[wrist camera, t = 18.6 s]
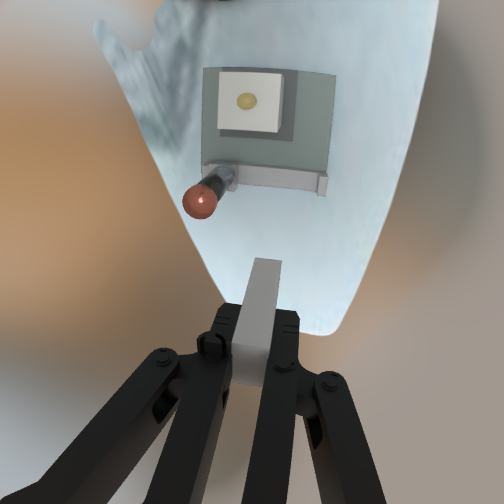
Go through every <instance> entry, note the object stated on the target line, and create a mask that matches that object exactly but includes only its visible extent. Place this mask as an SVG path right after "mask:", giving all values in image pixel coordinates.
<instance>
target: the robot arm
mask: <svg viewBox="0 0 504 504" xmlns="http://www.w3.org/2000/svg"><path fill="white" fill-rule="evenodd" d="M281 264H282V261H280V260H272V259H264V258H255V260H254V264H253V268H252V271H251V275H250V278H249V282H248V286H247V289H246V293H245V296H244V300H243V303H242V305H239V304H232V303H224V304H223V305H222V306H221V307H220V308H218V311H217V314H216V317H215V319H214V322H213V324H212V327H211V330H210V331H208V332H204V333H202V334H201V335H199V337H198V338H197V348H198V352H196V353H194V354H188V355H177V353H176V352H175V351H174V350H172V349H169V348H159V349H156V350H154V351H153V352H152V353H150V354H149V355H148V357H147V358H146V359H145V360H144V361H143V362H142V363H141V365H140V366H139V367H138V368H137V369H136V370H135V371H134V372H133V373H132V375H131V376H130V377H129V378H128V379H127V380H126V381H125V382H124V384H123V385H122V386H121V387H120V388H119V389H118V391H117V392H116V393H115V394H114V395H113V396H112V397H111V398H110V400H109V401H108V402H107V403H106V404H105V405H104V406H103V407H102V409H101V410H100V411H99V412H98V413H97V414H96V415H95V417H94V418H93V419H92V420H91V421H90V422H89V424H88V425H87V426H86V427H85V428H84V429H83V430H82V431H81V432H80V434H79V435H78V436H77V437H76V438H75V439H74V441H73V442H72V443H71V444H70V445H69V446H68V447H67V449H66V450H65V451H64V452H63V453H62V454H61V456H60V457H59V458H58V459H57V460H56V461H55V462H54V463H53V465H52V466H51V467H50V468H49V469H48V470H47V472H46V473H45V474H44V475H43V476H42V478H41V479H40V480H39V481H38V482H36V483H33V484H31V485H29V486H27V487H25V488H23V489H21V490H18V491H16V492H14V493H12V494H10V495H7V496H5V497H3V498H2V499H1V500H0V504H107V503H108V502H109V500H110V499H111V498H112V496H113V495H114V494H115V492H116V491H117V490H118V488H119V487H120V486H121V484H122V483H123V482H124V480H125V479H126V478H127V477H128V475H129V474H130V472H131V471H132V470H133V468H134V467H135V466H136V464H137V463H138V462H139V460H140V459H141V458H142V456H143V455H144V454H145V452H146V451H147V450H148V448H149V447H150V446H151V444H152V443H153V441H154V440H155V439H156V437H157V436H158V435H159V433H160V432H161V430H162V429H163V428H164V426H165V425H166V423H167V422H168V421H169V419H170V418H171V417H172V415H173V414H174V412H175V411H176V410H177V411H176V414H175V417H174V420H173V422H172V425H171V428H170V430H169V433H168V436H167V439H166V442H165V444H164V447H163V450H162V453H161V456H160V458H159V461H158V464H157V467H156V470H155V473H154V476H153V478H152V481H151V484H150V487H149V490H148V493H147V496H146V498H145V500H144V502H143V503H142V504H201V502H202V498H203V494H204V491H205V487H206V483H207V479H208V475H209V471H210V468H211V463H212V460H213V455H214V452H215V448H216V444H217V440H218V436H219V432H220V428H221V424H222V420H223V416H224V412H225V408H226V404H227V400H228V396H229V386H230V382H232V383H238V384H244V385H251V386H258V387H263V389H262V395H261V401H260V407H259V412H258V418H257V424H256V430H255V435H254V441H253V446H252V451H251V457H250V462H249V467H248V472H247V477H246V483H245V488H244V493H243V498H242V502H241V504H286V501H287V492H288V485H289V476H290V468H291V458H292V448H293V438H294V427H295V415H296V414H298V415H300V416H303V420H304V424H305V429H306V433H307V438H308V442H309V447H310V451H311V456H312V460H313V464H314V469H315V474H316V478H317V483H318V487H319V492H320V497H321V502H322V504H386V500H385V497H384V494H383V490H382V487H381V484H380V480H379V477H378V474H377V471H376V468H375V465H374V462H373V458H372V455H371V452H370V449H369V446H368V443H367V440H366V437H365V434H364V431H363V428H362V425H361V422H360V419H359V417H358V414H357V411H356V409H355V405H354V402H353V399H352V397H351V394H350V391H349V388H348V385H347V383H346V381H345V379H344V378H343V376H341V375H340V374H339V373H336V372H333V371H325V372H322V373H320V374H319V375H317V374H315V373H312V372H310V371H308V370H306V369H305V368H303V367H302V366H301V364H300V363H299V360H298V347H299V325H300V318H299V316H298V314H297V312H296V311H290V310H282V309H276V304H277V297H278V289H279V281H280V273H281Z"/></svg>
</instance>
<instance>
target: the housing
mask: <svg viewBox="0 0 504 504" xmlns="http://www.w3.org/2000/svg"><path fill="white" fill-rule="evenodd" d="M284 81H285V78H284V77H283V76H282V74H274V73H256V72H220V74H219V96H218V122H217V129H234V130H251V131H264V132H276V133H277V132H278V130H279V129H280V127H281V122H282V109H283V95H284Z"/></svg>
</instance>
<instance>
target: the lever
mask: <svg viewBox="0 0 504 504" xmlns="http://www.w3.org/2000/svg"><path fill="white" fill-rule="evenodd" d="M237 181H238V162H225V161H212V162H210V163H209V170H208V175H207V176H205V177H204V178H203V179H202V180H201V181H200V182H199V183H198V184H197V185H194V186H192V187H191V188H189V189H188V190H187V191H186V192H185V194H184V196H183V200H182V203H183V207H184V210H185V211H186V213H187V214H188V215H190V216H191V217H193V218H195V219H206V218H208V217H210V216H211V215H212V214H213V212H214V211H215V209H216V207H217V203H218V202H219V200H220V199H221V198H222V196H223V195H224V193H225V192H226V191H233V192H234V191H235V190H236V188H237Z"/></svg>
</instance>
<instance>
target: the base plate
mask: <svg viewBox="0 0 504 504" xmlns="http://www.w3.org/2000/svg"><path fill="white" fill-rule="evenodd" d="M220 72H256V73H274V74H282V76H283V77H284V78H285V81H284V95H283V109H282V122H281V127H280V129H279V130H278V132H277V133H276V132H264V131H251V130H234V129H217V122H218V96H219V74H220ZM335 83H336V75H329V74H322V73H314V72H305V71H297V70H286V69H272V68H249V67H219V68H203V91H202V136H201V173H202V179H203V178H204V177H205V176H207V175H208V170H209V163H210V162H212V161H225V162H238V181H237V184H247V185H258V186H268V187H278V188H287V189H296V190H305V191H313V192H317V196H324V197H326V190H327V183H328V175H327V172H326V169H327V161H328V153H329V144H330V135H331V126H332V116H333V106H334V95H335Z"/></svg>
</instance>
